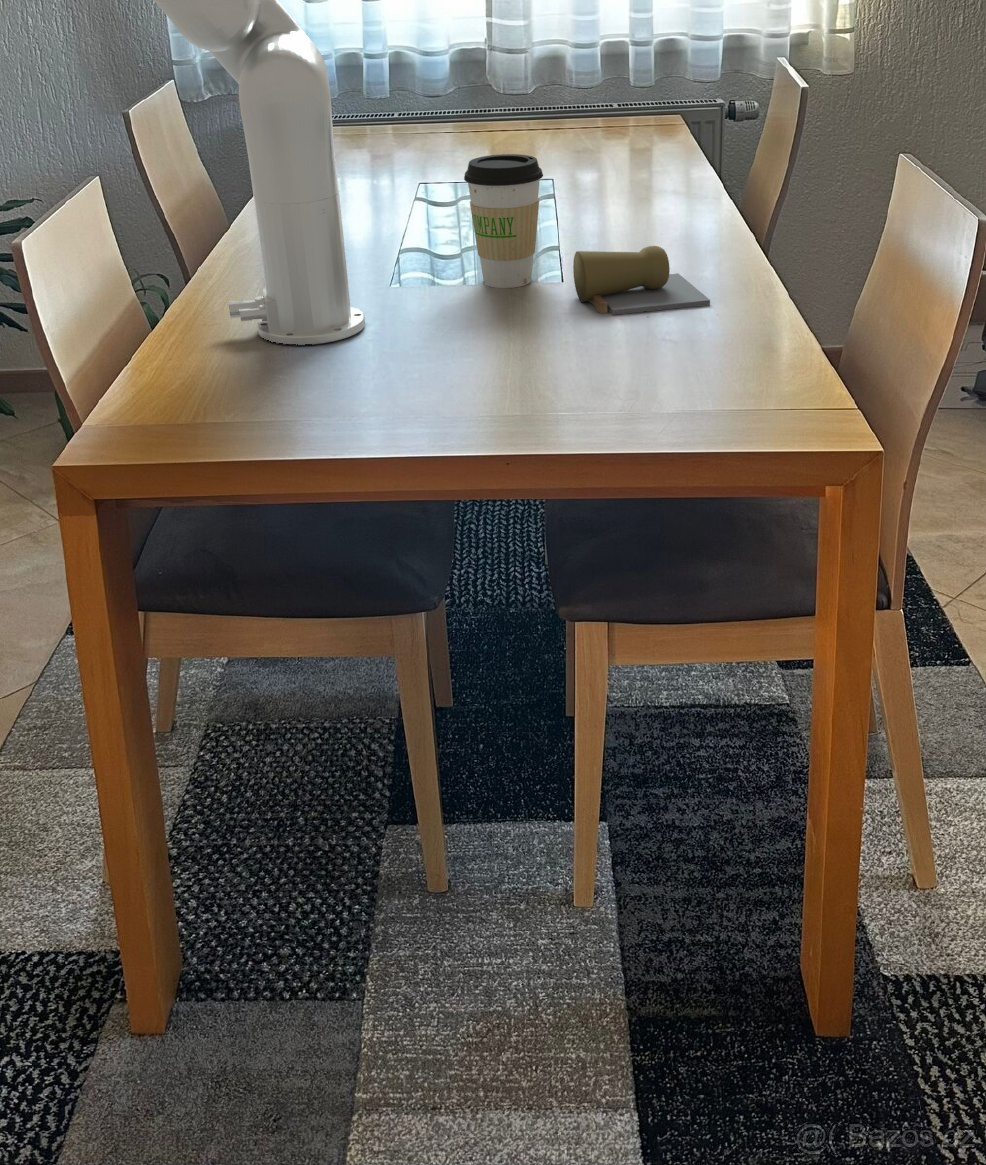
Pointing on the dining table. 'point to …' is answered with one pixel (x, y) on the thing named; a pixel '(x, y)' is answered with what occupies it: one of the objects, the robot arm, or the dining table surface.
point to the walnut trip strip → (599, 303)
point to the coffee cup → (505, 216)
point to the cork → (619, 271)
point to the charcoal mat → (656, 297)
